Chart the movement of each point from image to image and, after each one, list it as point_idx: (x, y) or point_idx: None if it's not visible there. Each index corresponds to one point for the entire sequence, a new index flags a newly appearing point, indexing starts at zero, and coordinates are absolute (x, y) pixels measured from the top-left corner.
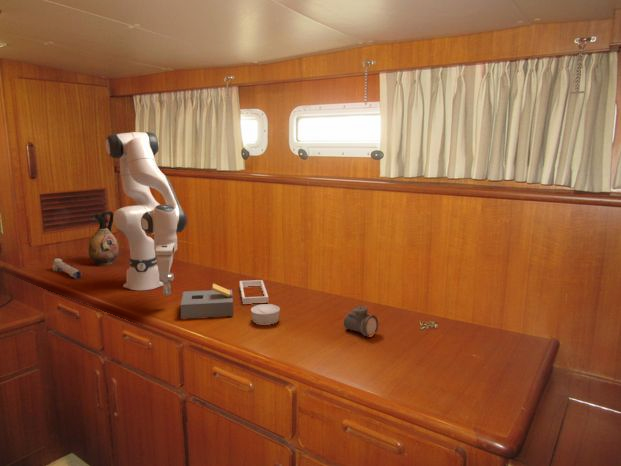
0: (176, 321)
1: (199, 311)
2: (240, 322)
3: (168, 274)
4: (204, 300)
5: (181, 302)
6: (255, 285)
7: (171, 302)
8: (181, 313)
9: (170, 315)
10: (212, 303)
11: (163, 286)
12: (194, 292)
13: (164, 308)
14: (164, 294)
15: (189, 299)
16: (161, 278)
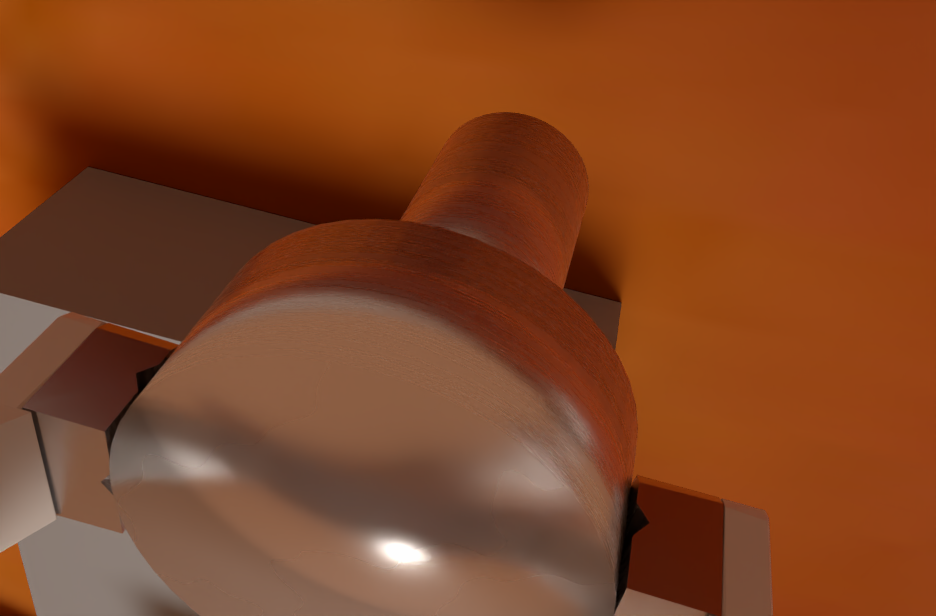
0: (24, 101)
1: None
2: (9, 563)
3: (332, 597)
4: (118, 546)
5: (45, 309)
6: None
7: (853, 167)
8: (39, 212)
9: (246, 60)
10: (28, 571)
11: (421, 219)
12: None
13: (589, 13)
14: (457, 134)
15: None
16: (193, 329)
